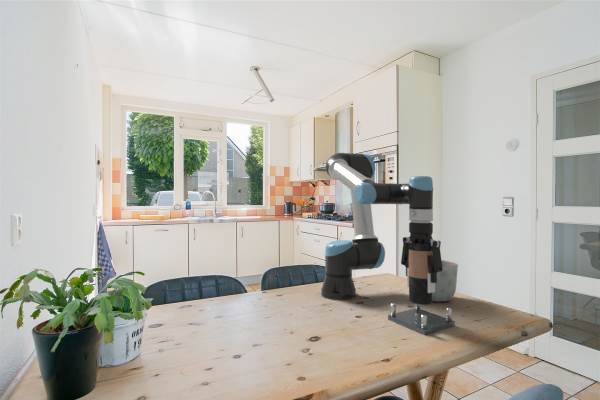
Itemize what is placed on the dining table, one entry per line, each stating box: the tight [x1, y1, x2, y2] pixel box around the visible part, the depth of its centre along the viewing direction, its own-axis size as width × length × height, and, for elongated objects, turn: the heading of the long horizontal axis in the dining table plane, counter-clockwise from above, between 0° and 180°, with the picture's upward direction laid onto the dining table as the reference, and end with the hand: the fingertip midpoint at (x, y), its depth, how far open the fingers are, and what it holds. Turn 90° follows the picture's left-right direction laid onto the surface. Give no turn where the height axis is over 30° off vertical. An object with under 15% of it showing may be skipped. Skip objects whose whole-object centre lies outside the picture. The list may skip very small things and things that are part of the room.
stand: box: [387, 302, 456, 336], centre depth 108 cm, size 15×15×6 cm
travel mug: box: [408, 242, 433, 306], centre depth 108 cm, size 8×8×20 cm
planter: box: [432, 259, 459, 303], centre depth 135 cm, size 17×17×15 cm
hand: (420, 289), depth 108 cm, fingers closed on travel mug, 8 cm apart
